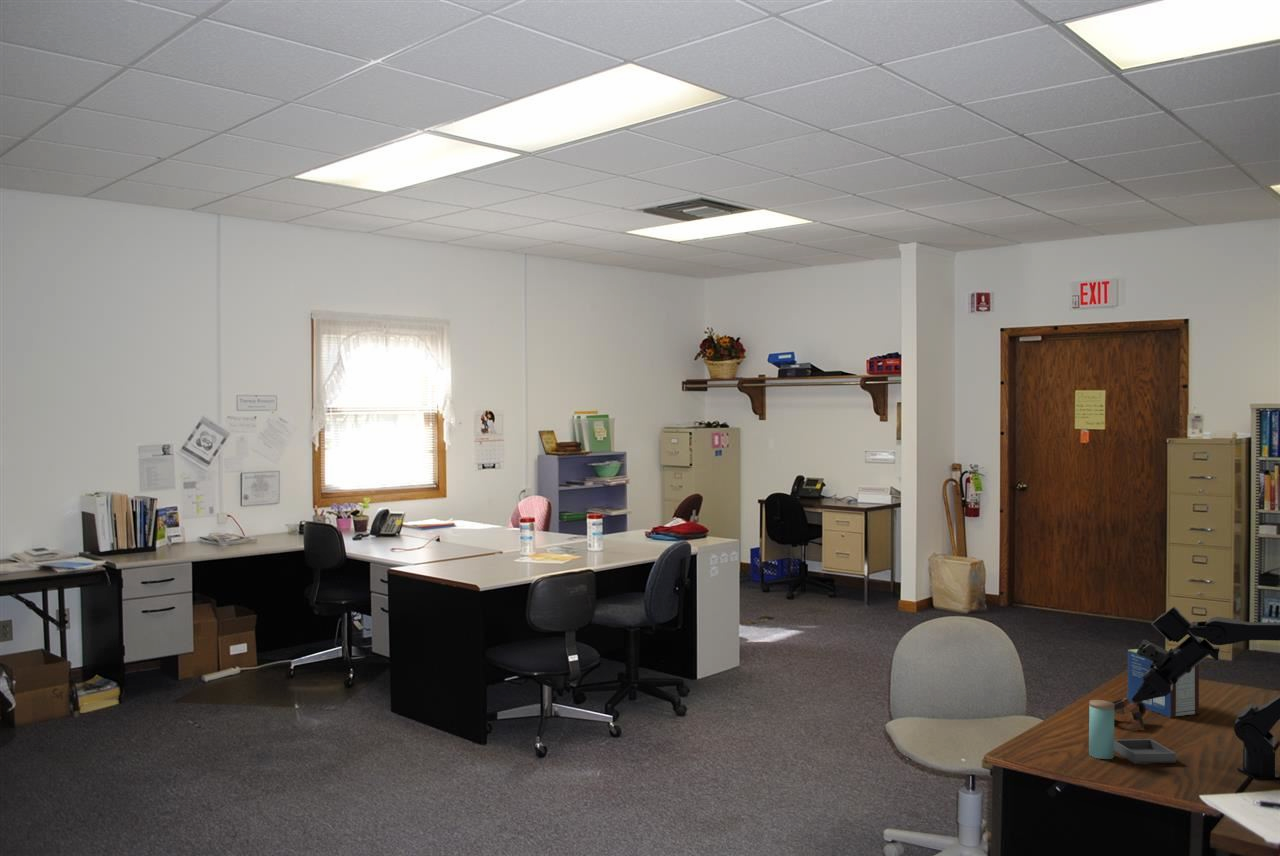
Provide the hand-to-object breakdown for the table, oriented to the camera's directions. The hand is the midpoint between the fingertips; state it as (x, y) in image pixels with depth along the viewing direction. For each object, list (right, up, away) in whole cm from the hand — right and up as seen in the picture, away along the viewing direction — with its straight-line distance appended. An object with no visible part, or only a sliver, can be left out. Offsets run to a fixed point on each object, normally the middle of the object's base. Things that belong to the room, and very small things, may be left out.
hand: (1136, 696), depth 238 cm
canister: (-10, -14, -3) cm, 17 cm away
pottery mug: (+9, -14, +22) cm, 27 cm away
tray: (0, -14, -3) cm, 14 cm away
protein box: (+26, -14, +36) cm, 46 cm away
